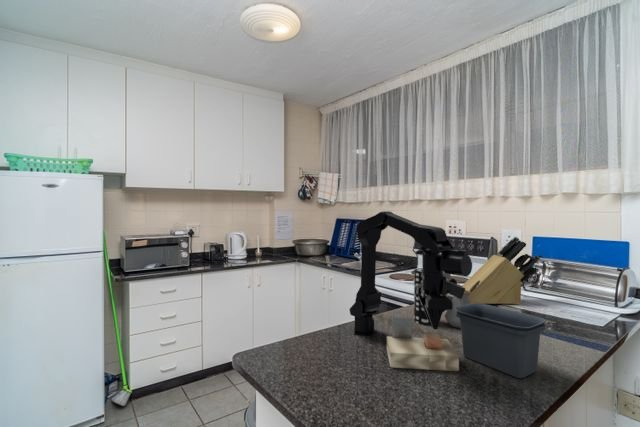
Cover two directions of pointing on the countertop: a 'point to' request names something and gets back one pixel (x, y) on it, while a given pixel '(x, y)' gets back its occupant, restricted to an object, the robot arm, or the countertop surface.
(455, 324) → the coffee pot
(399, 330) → the latch flap
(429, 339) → the peg
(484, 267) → the knife block
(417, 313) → the white-spotted black cylinder
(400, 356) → the block
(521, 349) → the storage bin
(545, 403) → the countertop surface
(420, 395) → the countertop surface
